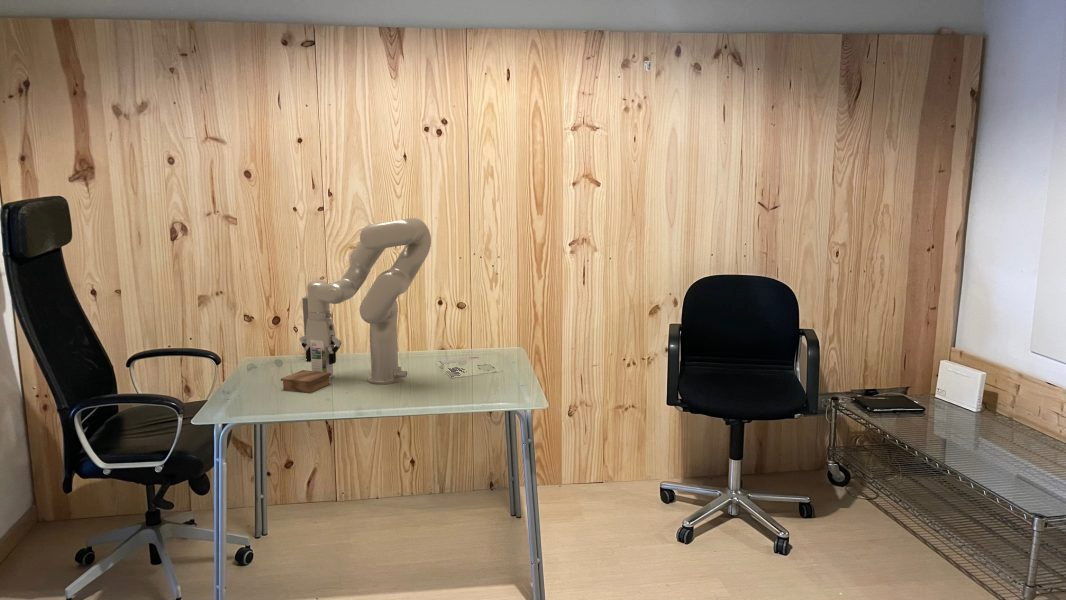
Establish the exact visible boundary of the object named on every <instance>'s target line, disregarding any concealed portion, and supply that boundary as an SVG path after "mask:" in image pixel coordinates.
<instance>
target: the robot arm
mask: <svg viewBox="0 0 1066 600" xmlns="http://www.w3.org/2000/svg"><path fill="white" fill-rule="evenodd" d="M431 244H432V235H431V232H430V229H429V228H428V226H427V224H426V223H425V222H424V221H423V220H421V218H417V217H409V218H405V219H399V220H394V221H387V222H383V223H382V222H375V223H369V224H368V225H365V226H364V227H363V228H362V229H361V231H360V233H359V242H358V243H357V245H356V246H355V248H354V249H353V250H352V252H351V253H350V256H349V257H350V261H351V262H350V265H349V267H348V269H347V271H346V272H345V273H344V275H342V277H341V279H340V280H336V281H334V282H331V283H328V281H323V280H313V281H309V282H308V283H307V287H306V291H307V293H306V294H307V295H308V318H309V319H308V320H307V325H306V335H302V336H300V337H299V342H300V343H301V346H302V348H303V350H304V352H305V351H306V352H305V357H306V359H307V360H306V359H305V360H306V362H307V363H309V362H311V347H310V340H317V341H324V346H325V348H327V349H328V350H329V352H330V353H329V364H333V365H334V364H336V362H337V353H338V351H339V349H340V348H341V346H342V345H341V344H342V340H340V339H339V338H337V337H336V329H335V325H334V321H333V319H331V318H333V313H331V306H330V305H339V304H341V303H344V302H346V301H348V300H350V299H351V298H353V297H354V296H355V295H356V294H357V293H358V291H359V290H360V289H361V287H362V285H363V284H364V283H365V281H366V280H367V278H368V276H369V274H370V272H371V269H372V268H373V267H374V265H375V263H376V262H377V261H378V260H379V258H380V257H381V255H383V253H384V252H385V250H386V249H388V248H395V247H400V246H404V248H403V249H402V250H401V252H400V253H399V254H398V256H397V259H395V261H394V263H393V264H392V265H391V267H390V268H388V269H387V270H384V271H383V272H381V273H380V274H379V275H378V276H377V277H376V278H375V279H374V281H373V283H372V285H371V286H370V288H369V290H368V291H367V293H366V294H365V296H364V297H363V299H362V301H361V303H360V305H359V315H360V317H361V319H362V320H363V321H364V323H367V324H369V346H370V347H369V352H370V370H371V371H370V372H371V374H370V375H368V376H367V377H366V379H367V380H366V381H367V382H368V383H371V384H375V385H388V384H394V383H395V384H396V383H398V382H401V381H402V380H403V379H405V378H407V377H408V371H407V370H402V367H401V366H399V355H398V354H399V353H398V351H399V350H398V349H399V348H398V314H399V313H398V312H399V307H398V306H399V305H398V301H397V299H398V297H399V296H401V295H402V294H405V293H406V292H407V290H408V289H409V288H410V287H411V284H412V282H413V281H414V279H415V278H416V276H417V274H418V273H419V271H420V269H421V267H422V266H423V263H425V261H426V258H427V257H428V255H429V253H430V251H431V247H432V246H431ZM307 295H306V296H307ZM305 339H306V342H305Z"/></svg>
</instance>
